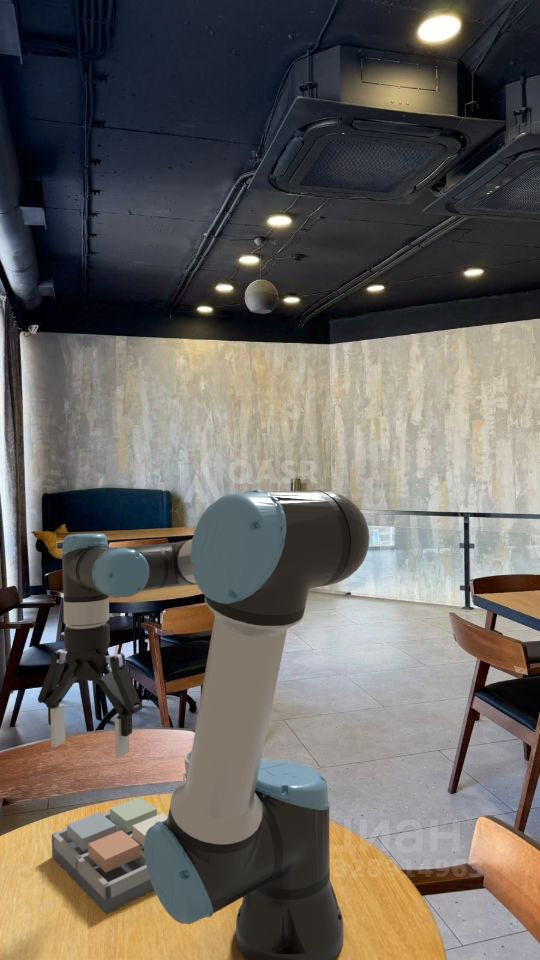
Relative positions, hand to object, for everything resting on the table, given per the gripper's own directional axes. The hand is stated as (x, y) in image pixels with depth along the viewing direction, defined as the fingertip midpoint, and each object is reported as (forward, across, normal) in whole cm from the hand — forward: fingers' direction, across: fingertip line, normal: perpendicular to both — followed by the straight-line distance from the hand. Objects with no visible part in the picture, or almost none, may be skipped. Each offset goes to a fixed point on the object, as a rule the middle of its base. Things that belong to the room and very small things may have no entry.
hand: (89, 749), depth 108 cm
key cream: (+15, -10, -4) cm, 19 cm away
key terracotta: (+15, -7, +3) cm, 17 cm away
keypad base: (+19, -5, -3) cm, 20 cm away
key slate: (+15, +1, -1) cm, 15 cm away
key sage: (+15, -3, -8) cm, 17 cm away
